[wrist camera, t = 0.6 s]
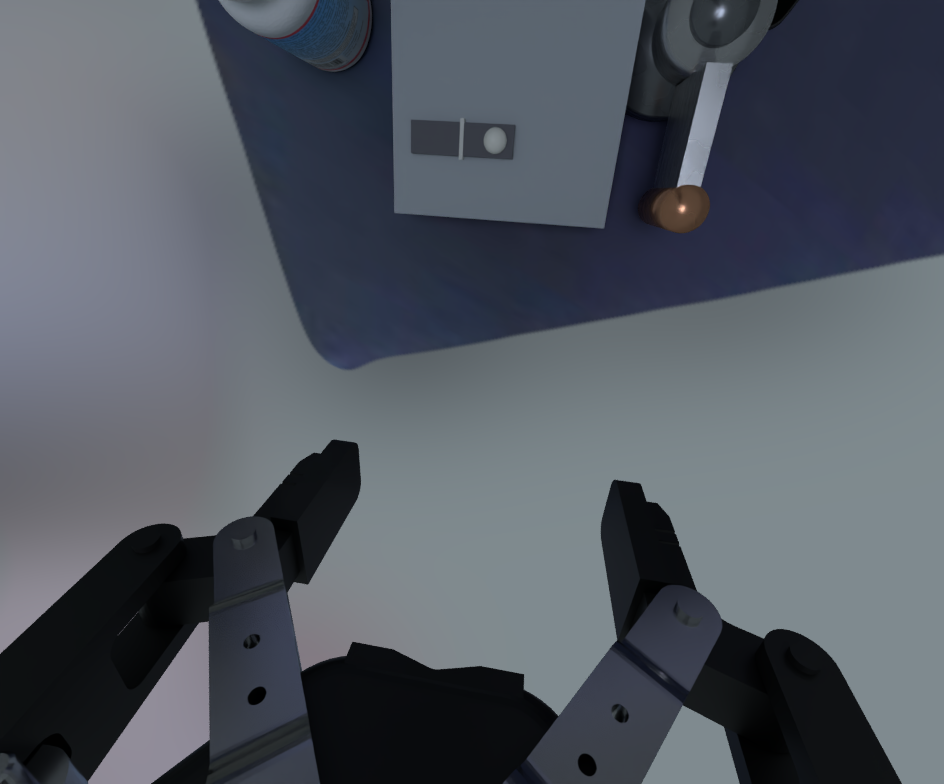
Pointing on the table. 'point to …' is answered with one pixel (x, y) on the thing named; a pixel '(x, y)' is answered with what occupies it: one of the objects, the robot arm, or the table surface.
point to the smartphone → (782, 11)
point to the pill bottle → (309, 28)
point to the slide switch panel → (510, 106)
